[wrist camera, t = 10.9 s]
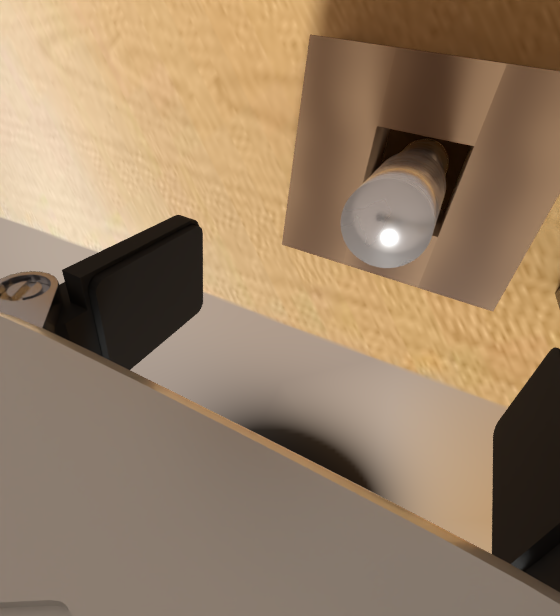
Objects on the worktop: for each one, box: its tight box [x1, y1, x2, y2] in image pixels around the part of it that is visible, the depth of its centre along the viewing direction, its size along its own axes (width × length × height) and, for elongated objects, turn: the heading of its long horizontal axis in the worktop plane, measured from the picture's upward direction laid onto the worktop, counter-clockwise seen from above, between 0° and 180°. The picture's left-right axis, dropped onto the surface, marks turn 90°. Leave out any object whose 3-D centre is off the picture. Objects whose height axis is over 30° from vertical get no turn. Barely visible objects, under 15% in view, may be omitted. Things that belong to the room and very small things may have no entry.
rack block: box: [282, 35, 560, 311], centre depth 23 cm, size 14×12×5 cm
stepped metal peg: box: [341, 139, 449, 268], centre depth 20 cm, size 4×4×12 cm
